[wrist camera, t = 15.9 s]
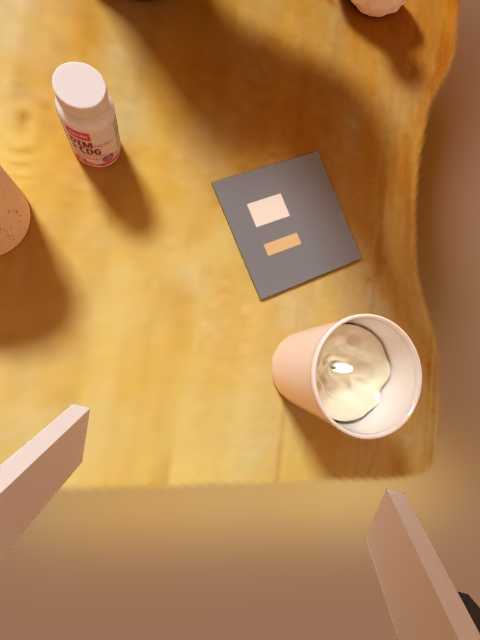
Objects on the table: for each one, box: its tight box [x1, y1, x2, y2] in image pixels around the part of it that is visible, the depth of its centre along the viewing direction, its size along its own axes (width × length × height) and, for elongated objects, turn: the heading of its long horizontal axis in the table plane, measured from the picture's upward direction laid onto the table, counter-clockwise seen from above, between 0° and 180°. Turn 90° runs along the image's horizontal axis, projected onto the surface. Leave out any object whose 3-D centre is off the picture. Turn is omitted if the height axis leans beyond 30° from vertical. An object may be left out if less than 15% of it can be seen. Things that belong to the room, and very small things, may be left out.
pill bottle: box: [52, 62, 121, 167], centre depth 30 cm, size 5×5×8 cm
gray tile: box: [212, 151, 362, 300], centre depth 39 cm, size 14×14×1 cm
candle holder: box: [271, 314, 422, 439], centre depth 32 cm, size 10×10×12 cm
